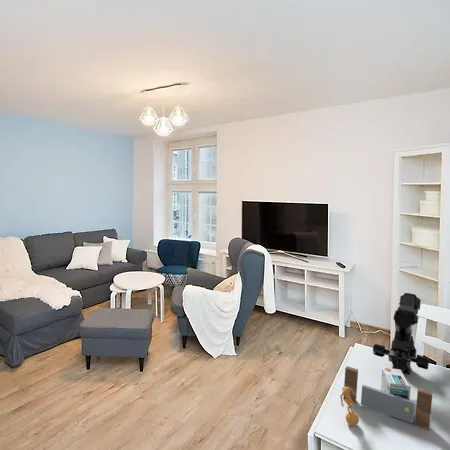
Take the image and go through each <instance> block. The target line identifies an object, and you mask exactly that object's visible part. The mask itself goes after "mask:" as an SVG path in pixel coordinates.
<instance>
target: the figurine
mask: <svg viewBox="0 0 450 450" xmlns="http://www.w3.org/2000/svg"><path fill="white" fill-rule="evenodd" d="M341 390H342V392H341V393H340V397H339V398H340V402H341V404H340V405H341V408H344V403H343V400H344V399H343V397H344V395H345V397H346V399H345V400H344V401H345V403H346V404H347V406H346V408H347V411H348V412H347V413H346V415H345V421H346V423H347V424H348V425H349V426H350V427H351V426H352V427H354V426H355V427H356V426H357V425H358V424H359V421H360V417H359V415H358V414H357V413H356V412H355V411H354V410H353V408H352V407H353V406H355V403H353V401H352V399H351V397H350V391H352V392H353V390H352V389H351V388H350V387H344V386H343V387H342V389H341ZM353 394H355V393H354V392H353ZM355 396H356V399H357V398H358V396H357V395H356V394H355Z"/></svg>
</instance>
